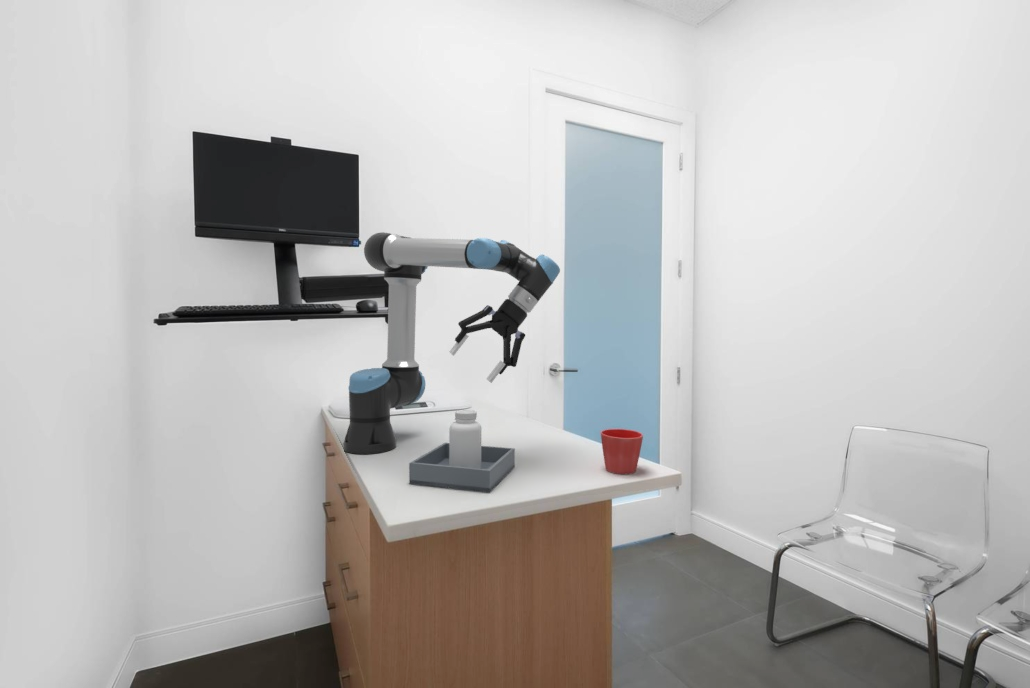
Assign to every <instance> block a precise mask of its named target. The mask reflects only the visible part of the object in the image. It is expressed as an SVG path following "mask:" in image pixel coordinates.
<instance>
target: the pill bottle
mask: <svg viewBox="0 0 1030 688" xmlns="http://www.w3.org/2000/svg"><path fill="white" fill-rule="evenodd" d="M477 414H478V413H477V411H476V410H473V409H461V410H459V409H458V410H456V411H454V421H453V422H452V423H450V425H449V429H448V430H449V431H448V433H449V435H448V436H449V437H448V438H449V440H448V441H449V442H448V443H449V466H457V467H468V468H478V469H481V446H482V425H481V424H480V423H479V422H478V421H476V420H477V417H478V415H477Z"/></svg>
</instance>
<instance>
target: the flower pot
mask: <svg viewBox="0 0 1030 688" xmlns="http://www.w3.org/2000/svg"><path fill="white" fill-rule="evenodd" d="M600 439H601V446H602V447H601V448H602V452H603V453H602V455H603V461H604V466H605V470H606V471H607V472H609V473H613V474H618V475H631V474H634V473H636V472H637V467H638V464H639V460H640V454H641V450H642V444H643V439H644V435H643V433H642V432H640V431H637V430H636V431H635V430H631V429H625V428H624V429H623V428H609V429H603V430H601V431H600Z"/></svg>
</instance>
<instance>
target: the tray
mask: <svg viewBox="0 0 1030 688" xmlns="http://www.w3.org/2000/svg"><path fill="white" fill-rule="evenodd" d="M515 452H516V448H514V447H513V448H512V447H501V446H490V445H489V446H488V445H481V469H478V468H468V467H457V466H449V442H444V443H441V444H440V445H438V446H436V447H434V448H433V449H431V450H429V451H428V452H426V453H424V454H423V455H420V456H419V457H417V458H415V459H413V460H412V461H411V462H409V463H408V465H409V467H408V469H409V471H408V473H409V475H408V477H409V478H408V479H409V481H408V483H409V485H416V486H424V487H425V486H426V487H433V488H444V489H454V490H461V491H462V490H463V491H470V492H481V493H489V494H491V492H492V491H493V490H494V489H495V488H496V487H497V486H498V485H499V484H500V483H501V482H502V481H503V480H504V479H505V478H506V477H507V475H509V474H510V473H511V472H512V470H513V469H514V468H515V466H516V464H515V461H516V460H515V458H516V457H515V456H516V455H515V454H516V453H515Z"/></svg>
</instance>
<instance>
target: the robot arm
mask: <svg viewBox="0 0 1030 688" xmlns="http://www.w3.org/2000/svg"><path fill="white" fill-rule="evenodd" d="M363 253H364V254H363V255H364V258H365V260H366V261H367V263H368V264H369V266H370V267H372V268H373V269H375V270H377V271H380V272H383V279H384V281H386V282H387V285H388V307H387V308H388V311H387V312H388V314H387V350H386V351H387V352H386V355H387V356H386V360H385V361H384V362H383V363H382V365H381V367H371V368H366V369H362V370H361V369H360V370H357V371H355V372H353V373H351V374H350V376H349V385H348V395H349V396H348V401H349V403H348V404H349V405H348V406H349V408H348V409H349V424H348V428H347V431H346V434H345V438H344V439H343V451H345V452H346V453H348V454H349V453H350V454H357V455H366V454H367V455H370V454H371V455H372V454H380V453H384V452H388V451H392V450H394V449H395V448H396V447H397V438H396V436H395V431H394V429H393V426H392V424H391V409H395V408H399V407H400V408H401V407H407V406H410V405H411V404H414V403H416V402H417V401H419V400H420V399H421V398H422V396H423V395H424V392H425V391H426V379H425V376H424V375H423V373H422V372H421V370H420V364H419V363H418V362H417V361H416V360H415V348H416V347H415V345H416V339H415V338H416V311H417V309H416V308H417V286H418V285H419V284H420V283H421V282H422V275H423V274H425V272H426V270H427V269H428V267H437V268H439V267H440V268H455V269H457V268H459V269H473V270H488V271H489V270H490V271H495V272H501V273H506V274H508V275H510V276H511V277H513V279H516V280H517V281H518V282H517V284H516V285H515V286H514V288H513V289H512V291H511V292H510V293H509V294H508V295H507V296H508V298H506V299H505V300H504V301H503V302H502V303H501V305H499V307H498V309H496V311H495V310H494V309H493V307H492V306H491V305H485V306H484V307H483V309H482V310H479V312H476V313H474V314H472V315H470V316H468V317H465V318H464V319H462V320H460V321H459V322H458V326H459V328H460V332H459V333H458V334H457V336H456V337H455V339H454V341H455V342H456V343H455V344H454V345H453V346H452V347H451V348H450V350H448V351H449V353H450V354H451V355H452V356H454V357H455V356H456V354H457V353H458V351H459V350H460V348H461V347H462V346H463V345H464V343H466V341H467V339H468V338H469V335H468V334H472V333H475V332H479V331H481V330H482V331H483V330H487V329H492V330H493V331H494V332H496V333H497V334H498V335H499V336H501V338H502V341H503V344H502V345H503V349H502V350H503V352H502V353H503V354H502V355H503V358H502V359H503V361H502V360H499V362H498V363H497V364H496V365H495V366H494V368H493V370H492V371H491V373H489V374H488V376H487V377H486V380H487V381H488V382H489V383H491V384H492V383H493V382H494V380H495V379H496V378H497V376H499V375H502V374H503V373H504V372H505V371H506V369H507V368H508V367H513V368H516V366H517V364H518V359H519V355H520V351H521V346H522V342H523V341H524V339H525V338H526V334H525V333H524V332H523V331H520V330H519V327H520V326H521V325H522V324H523V323H524V321H525V320H526V318H527V317H528V313H531V311H533V309H534V308H535V306H536V305H537V304H538V303H539V301H540V300H541V299H542V298H543V296H544V295H545V294H546V292H547V291H548V290H549V289H550V288H551V286H552V285H553V284H554V282H555V281H556V279H557V278H558V276H559V274H560V272H561V268H560V266H559V265H558V264H557V262H555V261H554V260H553V259H552V258H551V257H549V256H548V255H545V254H540V255H539V256H538V257H536V258H535V257H533V256H530V255H529V254H527V253H526V252H525V251H524V250H522V249H520V248H519V247H517V246H516V245H515V244H513V243H511V242H510V241H507V240H504V239H502V240H500V241H495V240H493V239H492V238H487V237H486V238H485V237H479V238H475V239H461V238H460V239H459V238H456V239H455V238H452V239H451V238H425V237H424V238H420V237H419V238H417V237H415V238H413V237H409V236H403V235H400V234H395V233H390V232H383V231H382V232H376V233H374V234H372V235H371V236H370V237H369V238H368V239H367V240H366V242H365V244H364V248H363ZM487 316H491V319H490V320H486V321H484V322H481V323H476V324H474V323H475V322H478V321H480V320H482V319H483V318H485V317H487ZM471 324H472V325H471ZM514 334H515V335H514ZM512 335H514V336H515V337H514V338H515V339H514V342H513V346H512V350H511V341H512Z"/></svg>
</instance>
